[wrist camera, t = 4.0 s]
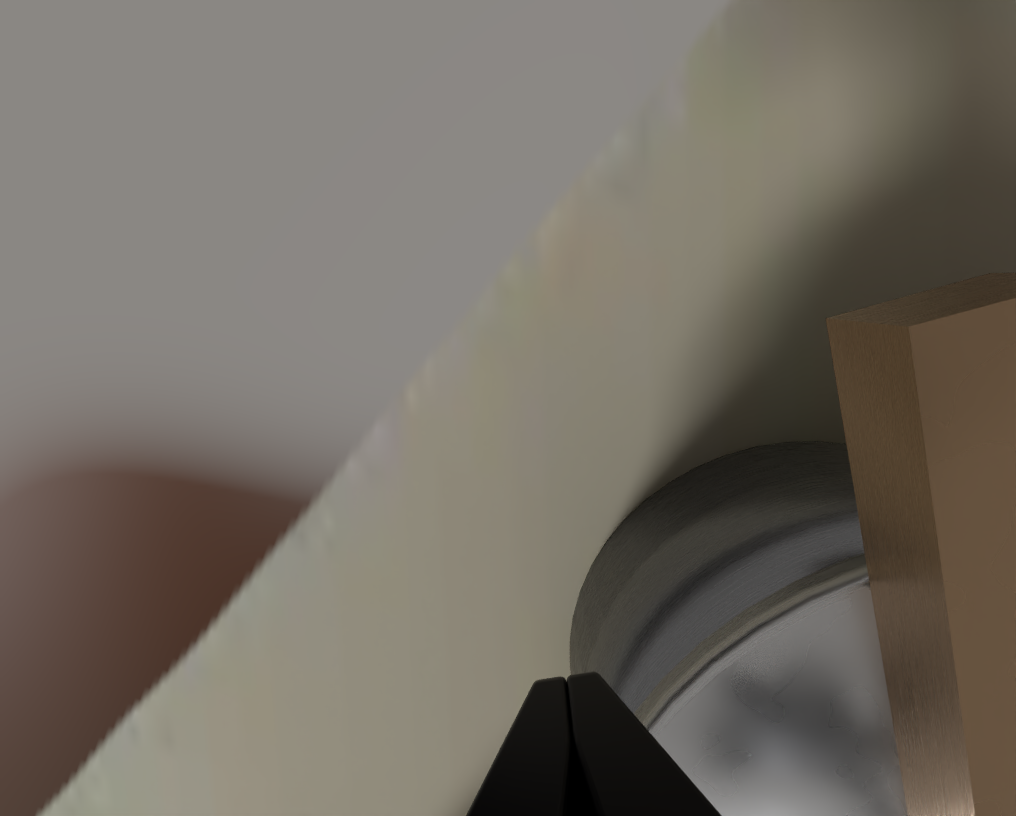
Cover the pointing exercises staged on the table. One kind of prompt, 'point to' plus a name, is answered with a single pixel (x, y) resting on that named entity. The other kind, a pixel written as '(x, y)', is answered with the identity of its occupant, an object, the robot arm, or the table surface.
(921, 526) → the lid
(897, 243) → the table surface
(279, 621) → the table surface
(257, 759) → the table surface
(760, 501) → the cooker pot
